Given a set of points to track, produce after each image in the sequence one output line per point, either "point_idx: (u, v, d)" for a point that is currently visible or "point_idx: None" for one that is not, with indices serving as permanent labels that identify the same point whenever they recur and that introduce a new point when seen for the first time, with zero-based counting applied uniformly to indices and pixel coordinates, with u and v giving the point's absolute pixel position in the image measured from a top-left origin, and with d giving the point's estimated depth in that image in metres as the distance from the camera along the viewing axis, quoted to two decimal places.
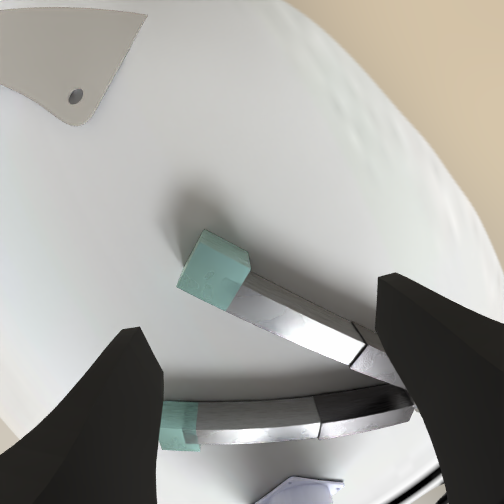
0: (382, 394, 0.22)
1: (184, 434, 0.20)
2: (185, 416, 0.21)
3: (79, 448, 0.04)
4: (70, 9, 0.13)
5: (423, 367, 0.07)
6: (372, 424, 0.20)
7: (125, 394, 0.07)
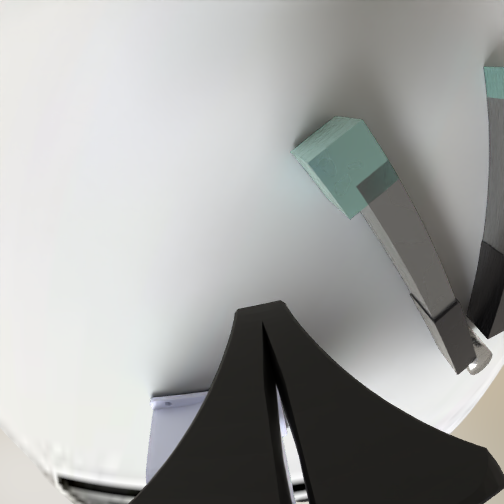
0: None
1: (377, 170, 0.12)
2: None
3: (272, 438, 0.04)
4: None
5: (287, 408, 0.07)
6: (457, 348, 0.17)
7: (268, 375, 0.07)
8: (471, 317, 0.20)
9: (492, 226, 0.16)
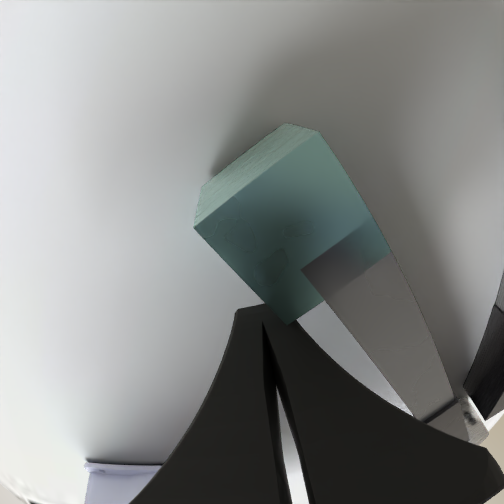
0: None
1: (347, 238, 0.06)
2: None
3: (272, 438, 0.04)
4: None
5: (287, 408, 0.07)
6: None
7: (268, 375, 0.07)
8: (468, 390, 0.15)
9: None
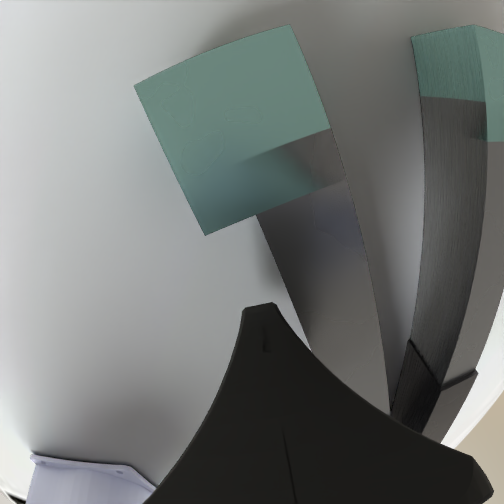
0: None
1: (297, 144, 0.05)
2: None
3: None
4: None
5: None
6: None
7: None
8: None
9: (423, 326, 0.11)
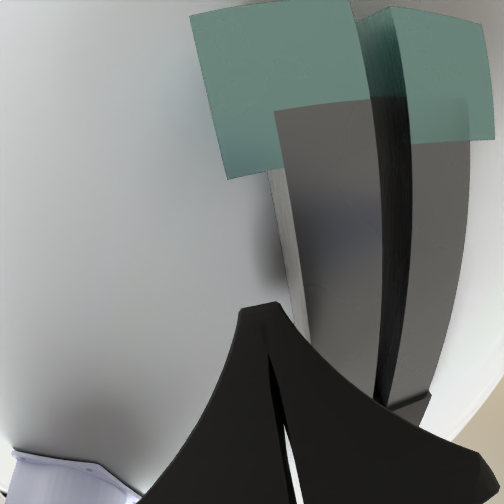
0: None
1: (337, 106, 0.05)
2: None
3: (279, 437, 0.04)
4: None
5: (281, 409, 0.07)
6: None
7: (272, 374, 0.07)
8: None
9: None
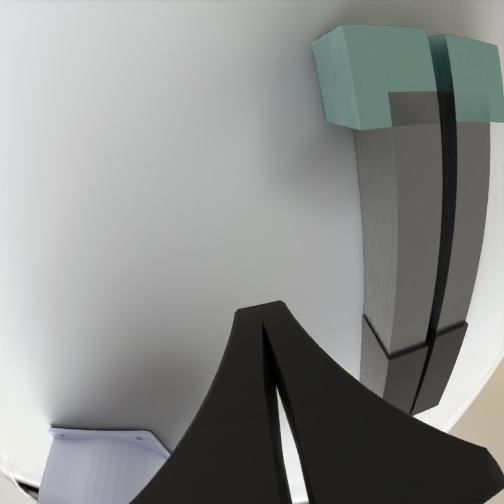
0: None
1: (419, 94, 0.07)
2: None
3: (272, 438, 0.04)
4: None
5: (287, 408, 0.07)
6: None
7: (268, 375, 0.07)
8: None
9: None
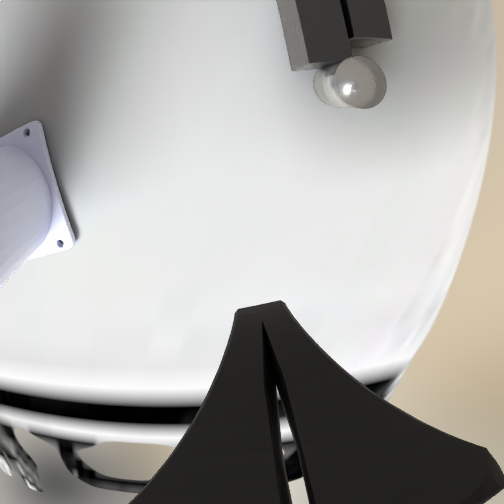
0: None
1: None
2: None
3: (272, 438, 0.04)
4: None
5: (287, 408, 0.07)
6: None
7: (268, 375, 0.07)
8: None
9: None
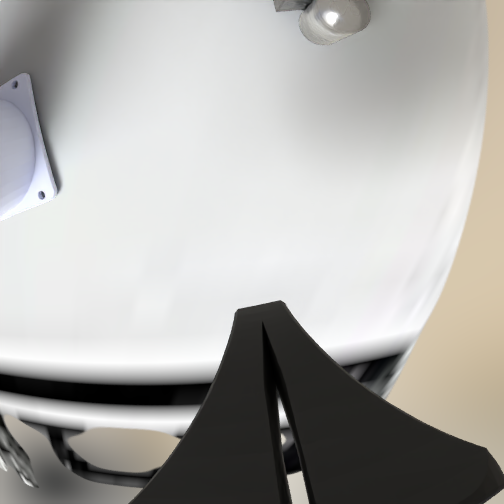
0: None
1: None
2: None
3: (272, 438, 0.04)
4: None
5: (287, 408, 0.07)
6: None
7: (268, 375, 0.07)
8: None
9: None
